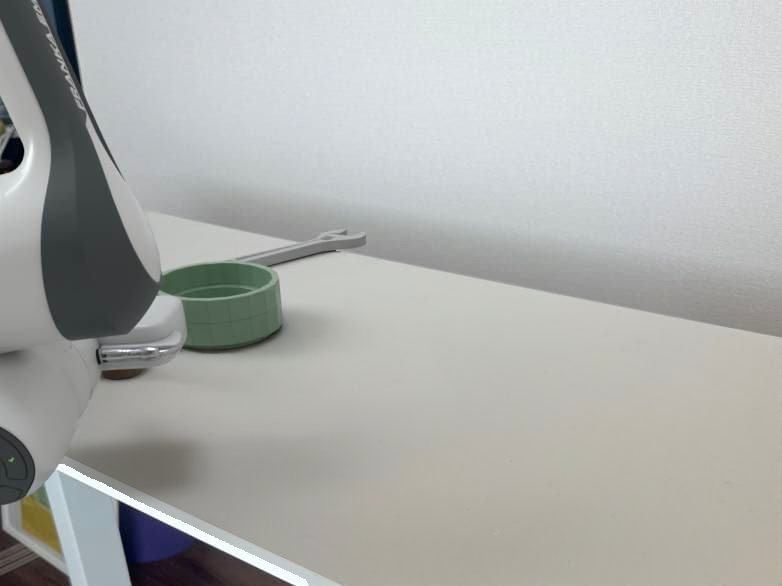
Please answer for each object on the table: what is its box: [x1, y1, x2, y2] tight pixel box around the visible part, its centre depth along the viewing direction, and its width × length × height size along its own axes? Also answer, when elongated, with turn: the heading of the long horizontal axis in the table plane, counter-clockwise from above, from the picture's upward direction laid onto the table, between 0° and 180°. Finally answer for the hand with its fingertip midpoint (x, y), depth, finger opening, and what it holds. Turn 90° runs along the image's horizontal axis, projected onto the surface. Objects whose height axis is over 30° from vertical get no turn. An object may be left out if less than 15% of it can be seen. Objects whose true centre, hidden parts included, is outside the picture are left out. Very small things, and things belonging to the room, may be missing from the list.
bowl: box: [157, 260, 284, 351], centre depth 96 cm, size 15×15×6 cm
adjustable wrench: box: [222, 228, 367, 267], centre depth 122 cm, size 25×6×2 cm, turn 127°
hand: (74, 301), depth 72 cm, fingers open, 8 cm apart
